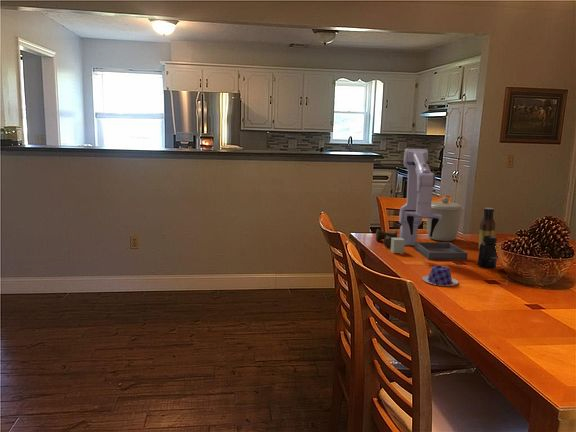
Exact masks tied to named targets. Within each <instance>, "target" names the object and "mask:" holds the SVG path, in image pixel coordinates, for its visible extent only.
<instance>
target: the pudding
mask: <svg viewBox="0 0 576 432" xmlns="http://www.w3.org/2000/svg"><path fill="white" fill-rule="evenodd" d="M421 278H422V280H423V282H425V283H428V284H431V285H434V286H437V285H436V284H439V286H440V287H441V286H443V287H450V286H457V285H459V281H458V280H457V279H455V278H453V277H452V274H451V269H450V267H448V266H445V265H444V266H443V265H433V266H432V267H431V270H430V272H429V274H426V275H424V276H422V277H421ZM452 282H453V284H452ZM432 283H433V284H432ZM440 284H441V285H440Z"/></svg>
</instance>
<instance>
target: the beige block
mask: <svg viewBox="0 0 576 432" xmlns="http://www.w3.org/2000/svg"><path fill="white" fill-rule="evenodd" d="M404 243H405V240H404V239H403V238H399V237H397V238H391V248H390V252H391V253H392V254H393V253H400V254H399V255H401V254H402V255H403V254H404V253H405V245H404Z"/></svg>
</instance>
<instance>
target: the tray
mask: <svg viewBox="0 0 576 432" xmlns="http://www.w3.org/2000/svg"><path fill="white" fill-rule="evenodd" d="M414 249H415V250H416V251H417V252H418V253H419V254H421V255H422V256H423V257H425V258H426V259H427V260H431V261H433V260H434V261H437V260H438V261H439V260H441V261H442V260H443V261H468V252H467V251H465V250H463V249H461V248H460V247H458V246H457V245H455V244H453V243H452V242H441V241H439V242H438V241H436V242H432V241H431V242H429V241H417V242H415V245H414Z"/></svg>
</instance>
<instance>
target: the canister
mask: <svg viewBox="0 0 576 432" xmlns="http://www.w3.org/2000/svg"><path fill="white" fill-rule="evenodd" d="M440 200H441V201H432V202H431V213H432V214H440V215H442V219H441V220H439V221H438V223H437V224H436V226H435V228H434V231H433V234H432V237H430V232H431V222H432V219H427V218H426V232H427V236H428V238H429V239H431V240H434V241H437V242H438V241H439V242H452V241H454V240H456V238H457V236H458V232H459V228H460V225H461V220H462V215H463V210H465V207H464V206H463V205H462V204H459V203H456V202H449V201H450V199H449V197H448V196H443V197H441V199H440Z"/></svg>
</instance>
